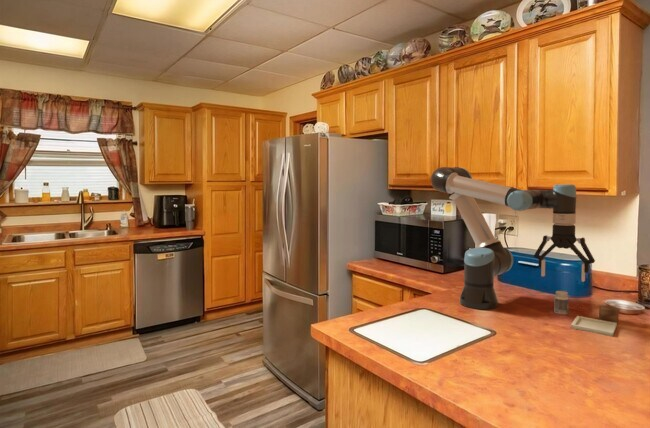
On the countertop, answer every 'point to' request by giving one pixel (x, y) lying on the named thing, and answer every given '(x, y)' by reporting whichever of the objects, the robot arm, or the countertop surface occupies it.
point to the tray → (594, 325)
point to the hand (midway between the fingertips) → (562, 278)
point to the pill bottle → (561, 302)
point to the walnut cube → (608, 313)
